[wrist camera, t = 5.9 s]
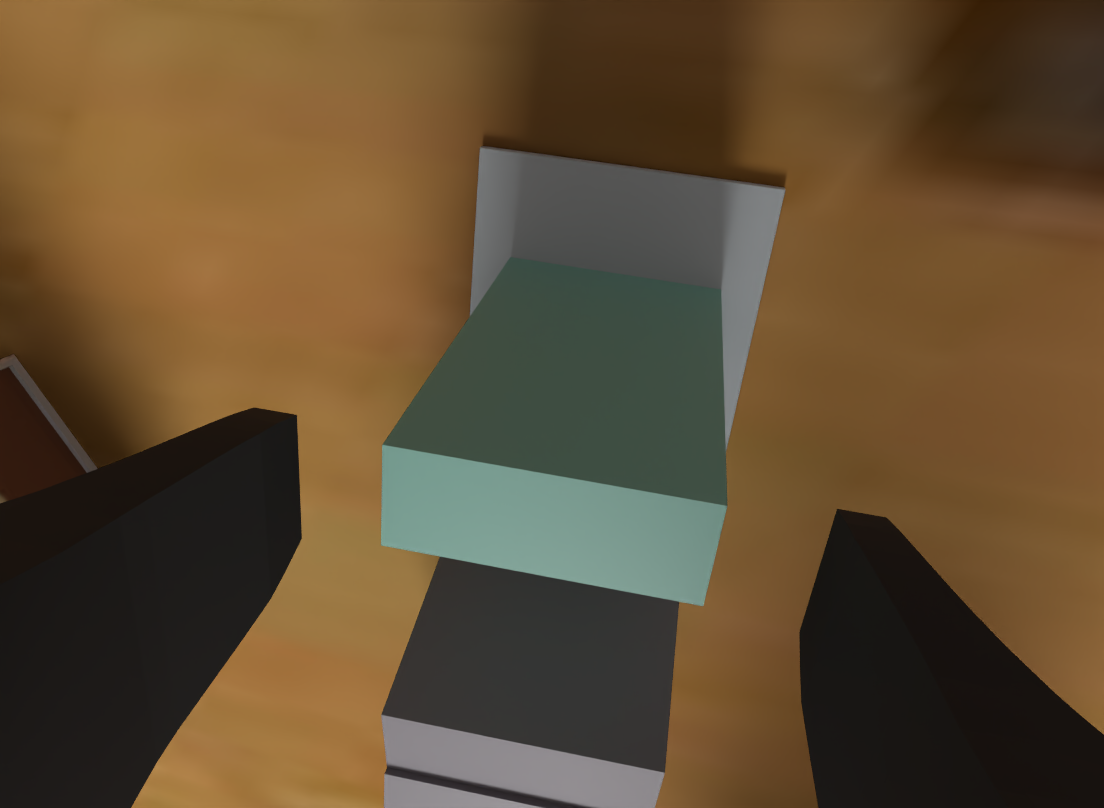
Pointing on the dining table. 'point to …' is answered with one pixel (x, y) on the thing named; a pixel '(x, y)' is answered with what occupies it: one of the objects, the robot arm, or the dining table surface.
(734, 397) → the coaster
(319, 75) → the dining table surface
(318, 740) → the dining table surface
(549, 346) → the domino
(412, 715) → the domino
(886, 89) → the dining table surface
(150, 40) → the dining table surface
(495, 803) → the domino
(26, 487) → the food container
